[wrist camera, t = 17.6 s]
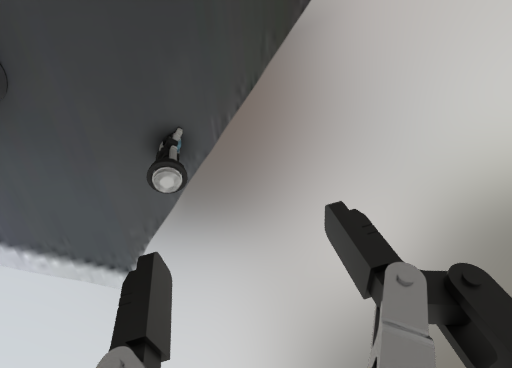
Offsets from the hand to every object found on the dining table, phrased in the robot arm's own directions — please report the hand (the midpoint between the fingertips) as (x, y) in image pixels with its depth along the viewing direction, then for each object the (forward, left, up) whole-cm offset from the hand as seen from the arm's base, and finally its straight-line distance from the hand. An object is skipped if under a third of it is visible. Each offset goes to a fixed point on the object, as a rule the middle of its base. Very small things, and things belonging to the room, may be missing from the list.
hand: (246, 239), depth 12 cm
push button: (-8, -10, -32) cm, 35 cm away
